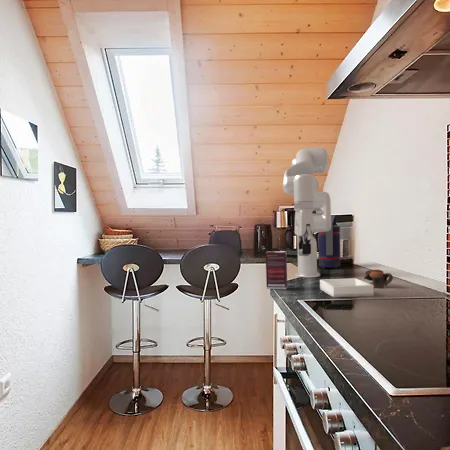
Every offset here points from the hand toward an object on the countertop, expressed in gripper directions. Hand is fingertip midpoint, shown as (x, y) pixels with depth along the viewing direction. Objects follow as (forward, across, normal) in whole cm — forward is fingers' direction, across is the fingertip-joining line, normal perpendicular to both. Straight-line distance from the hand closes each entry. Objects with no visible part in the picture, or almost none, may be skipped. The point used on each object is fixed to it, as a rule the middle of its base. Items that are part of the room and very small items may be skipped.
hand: (304, 252), depth 146 cm
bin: (+17, -1, +17) cm, 24 cm away
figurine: (+1, 0, 0) cm, 1 cm away
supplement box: (+17, -14, -8) cm, 24 cm away
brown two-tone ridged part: (+17, -11, +35) cm, 41 cm away
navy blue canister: (+18, -65, +34) cm, 76 cm away
